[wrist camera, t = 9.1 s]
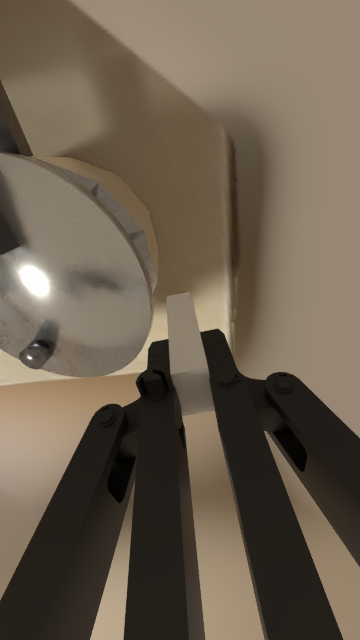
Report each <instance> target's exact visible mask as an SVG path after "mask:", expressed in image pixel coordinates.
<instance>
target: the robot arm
mask: <svg viewBox="0 0 360 640" xmlns="http://www.w3.org/2000/svg"><path fill="white" fill-rule="evenodd" d="M166 298H167V318H168V337H169V339H166V340H161V341H156V342H152V344H151V346H150V347H149V349H148V364H147V370H145V371H144V372H142V373H141V374H140V375H139V377H138V378H137V380H136V385H137V388H138V390H139V392H140V394H141V397H140V398H139V399H138V400H136V401H135V402H133V403H131V404H129V405H127V406H124V407H121V406H120V405H118V404H108V405H105V406H103V407H102V408H100V409H99V410H98V411H97V412H96V413H95V414H94V416H93V417H92V419H91V421H90V423H89V425H88V427H87V429H86V431H85V433H84V435H83V437H82V439H81V441H80V443H79V445H78V447H77V449H76V451H75V453H74V455H73V457H72V459H71V461H70V463H69V465H68V467H67V469H66V471H65V473H64V475H63V477H62V479H61V481H60V483H59V485H58V487H57V489H56V491H55V493H54V495H53V497H52V499H51V501H50V503H49V505H48V507H47V509H46V511H45V513H44V515H43V517H42V519H41V521H40V523H39V525H38V527H37V528H36V531H35V533H34V535H33V537H32V539H31V540H30V542H29V544H28V547H27V549H26V550H25V552H24V554H23V556H22V558H21V560H20V562H19V564H18V567H17V568H16V570H15V572H14V574H13V576H12V578H11V580H10V583H9V584H8V586H7V589H6V590H5V593H4V595H3V597H2V598H1V600H0V640H90V637H91V634H92V630H93V627H94V623H95V620H96V616H97V612H98V609H99V605H100V602H101V598H102V595H103V591H104V588H105V584H106V580H107V577H108V573H109V570H110V566H111V563H112V559H113V555H114V552H115V548H116V545H117V541H118V538H119V534H120V531H121V527H122V523H123V520H124V516H125V512H126V509H127V506H128V502H129V499H130V495H131V491H132V488H133V484H134V481H135V491H134V505H133V518H132V532H131V546H130V559H129V574H128V587H127V601H126V614H125V627H124V640H205V632H204V622H203V612H202V602H201V591H200V581H199V571H198V560H197V550H196V540H195V529H194V519H193V510H192V500H191V489H190V478H189V468H188V457H187V447H186V437H185V427H184V425H183V421H182V415H183V416H186V415H192V414H197V413H203V412H208V411H214V410H215V413H216V418H217V423H218V429H219V432H220V437H221V441H222V446H223V451H224V455H225V459H226V464H227V469H228V474H229V478H230V483H231V487H232V492H233V497H234V501H235V506H236V510H237V515H238V520H239V524H240V529H241V533H242V538H243V542H244V546H245V552H246V556H247V561H248V565H249V570H250V575H251V579H252V584H253V588H254V593H255V597H256V602H257V607H258V611H259V616H260V620H261V625H262V629H263V634H264V639H265V640H343V638H342V635H341V632H340V630H339V627H338V625H337V622H336V619H335V617H334V614H333V612H332V609H331V606H330V604H329V601H328V598H327V596H326V593H325V591H324V588H323V585H322V583H321V580H320V577H319V575H318V572H317V570H316V567H315V565H314V562H313V559H312V557H311V554H310V551H309V549H308V546H307V543H306V541H305V538H304V536H303V533H302V531H301V528H300V525H299V523H298V520H297V517H296V515H295V512H294V509H293V507H292V504H291V502H290V499H289V496H288V494H287V491H286V489H285V486H284V483H283V481H282V478H281V475H280V473H279V470H278V468H277V465H276V462H275V460H274V457H273V454H272V452H271V449H270V447H269V444H268V441H267V439H266V436H265V433H264V431H267V432H268V434H269V435H270V437H271V438H272V440H273V441H274V442H275V444H276V445H277V447H278V448H279V450H280V451H281V453H282V454H283V456H284V457H285V459H286V460H287V462H288V463H289V464H290V466H291V467H292V469H293V470H294V472H295V473H296V474H297V476H298V478H299V479H300V481H301V482H302V483H303V485H304V486H305V488H306V489H307V491H308V492H309V494H310V495H311V497H312V498H313V499H314V501H315V502H316V504H317V505H318V507H319V508H320V510H321V511H322V512H323V514H324V516H325V517H326V518H327V520H328V521H329V523H330V524H331V526H332V527H333V529H334V530H335V531H336V533H337V534H338V536H339V537H340V539H341V540H342V542H343V543H344V545H345V546H346V548H347V549H348V550H349V552H350V553H351V555H352V556H353V558H354V559H355V561H356V562H357V563H358V565H359V566H360V438H359V437H358V436H357V435H356V434H355V433H354V432H353V431H352V430H351V429H350V428H349V427H348V426H346V425H345V424H344V423H343V422H342V421H341V420H340V419H339V418H338V417H337V416H336V415H335V414H334V413H333V412H332V411H331V410H330V409H329V408H328V407H327V406H326V405H325V404H324V403H323V402H322V401H321V400H320V399H319V398H318V397H317V396H316V395H315V394H314V393H313V392H312V391H311V390H310V389H308V387H307V386H306V385H305V384H304V383H302V381H300V379H298V378H297V377H295V376H294V375H292V374H289V373H286V372H277V373H273V374H271V375H269V376H268V377H267V379H266V380H258V379H250V378H248V377H245V376H244V375H242V374H241V373H240V372H239V371H238V369H237V367H236V365H235V362H234V359H233V356H232V354H231V351H230V348H229V346H228V343H227V340H226V338H225V335H224V333H222V332H221V331H220V330H219V329H214V330H209V331H204V332H200V331H199V327H198V322H197V318H196V314H195V310H194V305H193V301H192V297H191V293H190V292H185V293H180V294H175V295H170V296H166Z"/></svg>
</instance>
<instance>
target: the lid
mask: <svg viewBox="0 0 360 640" xmlns="http://www.w3.org/2000/svg"><path fill="white" fill-rule="evenodd" d="M153 315H154V299H153V291H152V286H151V281H150V278H149V275H148V272H147V269H146V266H145V263H144V261H143V259H142V257H141V255H140V253H139V251H138V249H137V247H136V245H135V244H134V242H133V241H132V239H131V238H130V236H129V234H128V233H127V231H126V230H125V229H124V227H123V226H122V225H121V224H120V222H119V221H118V220H117V218H116V217H115V216H114V215H113V214H112V213H111V211H110V210H109V209H108V208H107V207H106V206H105V205H104V204H103V203H102V202H101V201H100V200H99V199H98V198H97V197H95V196H94V195H93V194H92V193H90V192H89V191H88V190H87V189H86V188H84V187H83V186H82V185H81V184H79V183H78V182H76V181H75V180H73V179H72V178H70V177H69V176H67V175H66V174H64V173H62V172H61V171H59V170H57V169H55V168H53V167H51V166H49V165H47V164H45V163H43V162H41V161H38V160H35V159H32V158H29V157H26V156H23V155H19V154H14V153H8V152H3V151H0V349H2V350H3V351H5V352H6V353H8V354H10V355H12V356H13V357H15V358H17V359H19V360H21V362H22V363H23V364H25V365H26V366H28V367H30V368H32V369H42V370H45V371H48V372H52V373H56V374H60V375H65V376H71V377H97V376H104V375H107V374H111V373H114V372H116V371H118V370H120V369H122V368H124V367H125V366H127V365H128V364H130V363H131V362H132V361H133V360H134V359H135V358H136V357H137V355H138V354H139V352H140V351H141V350H142V348H143V346H144V344H145V341H146V339H147V337H148V335H149V333H150V330H151V326H152V322H153Z"/></svg>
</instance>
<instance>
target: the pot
mask: <svg viewBox="0 0 360 640" xmlns="http://www.w3.org/2000/svg"><path fill="white" fill-rule="evenodd" d="M0 151H3V152H8V153H14V154H19V155H23V156H26V157H29V158H32V159H35V160H38V161H41V162H43V163H45V164H47V165H49V166H51V167H53V168H55V169H57V170H59V171H61V172H62V173H64V174H66V175H67V176H69V177H70V178H72V179H73V180H75V181H76V182H78V183H79V184H81V185H82V186H83V187H84V188H86V189H87V190H88V191H89V192H90V193H92V194H93V195H94V196H95V197H97V198H98V199H99V200H100V201H101V202H102V203H103V204H104V205H105V206H106V207H107V208H108V209H109V210H110V211H111V213H112V214H113V215H114V216H115V217H116V218H117V220H118V221H119V222H120V224H121V225H122V226H123V227H124V229H125V230H126V231H127V233H128V234H129V236H130V238H131V239H132V241H133V242H134V244H135V245H136V247H137V249H138V251H139V253H140V255H141V257H142V259H143V261H144V263H145V266H146V269H147V272H148V275H149V278H150V281H151V286H152V291H153V294H154V291H155V288H156V285H157V281H158V255H159V248H158V244H157V240H156V236H155V232H154V228H153V224H152V219H151V215H150V211H149V209H148V208H147V207H146V206H145V205H144V204H143V202H142V201H141V200H140V199H139V198H138V197H137V195H136V194H135V193H134V192H133V191H132V190H131V189H130V187H129V186H128V185H127V184H126V183H125V182H124V181H123V179H122V178H121V177H120V176H119V175H118V174H115V173H112V172H110V171H107V170H104V169H102V168H99V167H97V166H94V165H91V164H89V163H86V162H83V161H81V160H78V159H76V158H69V157H41V156H33V154H32V151H31V149H30V147H29V145H28V142H27V140H26V138H25V135H24V133H23V131H22V129H21V126H20V124H19V122H18V119H17V117H16V115H15V113H14V110H13V108H12V106H11V103H10V101H9V99H8V97H7V94H6V92H5V90H4V87H3V85H2V83H1V81H0Z"/></svg>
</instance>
